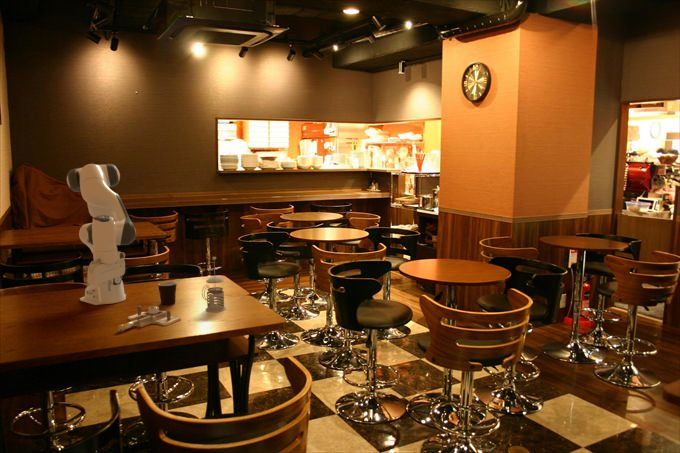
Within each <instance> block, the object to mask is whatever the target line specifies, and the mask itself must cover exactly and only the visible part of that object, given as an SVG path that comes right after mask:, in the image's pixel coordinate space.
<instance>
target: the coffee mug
mask: <svg viewBox="0 0 680 453" xmlns="http://www.w3.org/2000/svg"><path fill="white" fill-rule="evenodd" d="M177 284H178V283H177V282H176V281H162V282H159V283H158V284H157V285H158V291H159V292H158V293H159V297H160V303H161V304H160V305H161V306H165V307H166V306H167V307H168V306H172V305H173V306H174V305H176V297H177V296H176V295H177V286H178V285H177Z"/></svg>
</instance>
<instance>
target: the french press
mask: <svg viewBox="0 0 680 453" xmlns="http://www.w3.org/2000/svg"><path fill="white" fill-rule="evenodd" d="M211 258H212V260H213V270H214V276H211V277H210V278H208V279H206V280H205V281H206V282H205V283H207V284H206V285H203V287H202V290H201V295H202V298H203V299H204V300H205V301H206V302H207V304H206V306H207V307H206V308H205V311H206V312H208V313H218V312H219V313H220V312H224V311H226V310H227V307H226V306H225V293H224V292H225V291H224V287H218V286H214V287H210V285H208V284H221V283H223V282H224V280H225V279H223V278H221V277H218V276H216V271H215V270H216V269H215V268H216V267H215V264H216V263H215V260H217V257H216V256H212V257H211ZM206 289H207V292H206ZM205 292H206V296H205Z"/></svg>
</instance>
